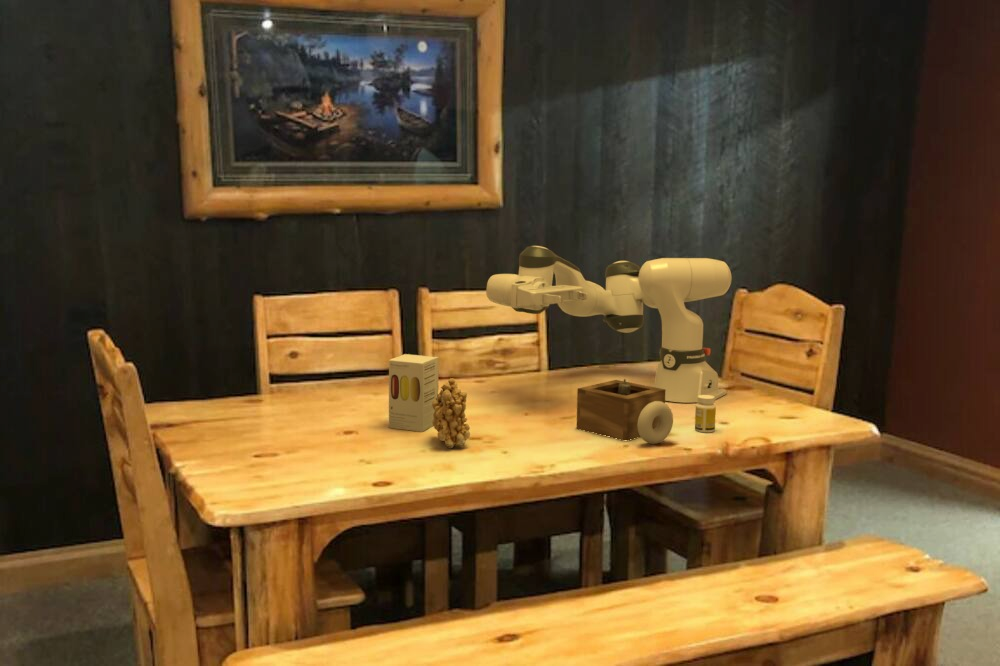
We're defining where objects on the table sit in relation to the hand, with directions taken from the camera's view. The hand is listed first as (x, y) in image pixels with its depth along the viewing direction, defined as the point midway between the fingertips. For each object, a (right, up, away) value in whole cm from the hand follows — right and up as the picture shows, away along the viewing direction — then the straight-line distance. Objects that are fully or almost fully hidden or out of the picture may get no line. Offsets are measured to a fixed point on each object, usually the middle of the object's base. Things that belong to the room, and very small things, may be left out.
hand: (573, 298), depth 233 cm
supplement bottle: (+31, -33, -10) cm, 46 cm away
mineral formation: (-31, -34, -24) cm, 52 cm away
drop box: (+10, -32, -11) cm, 35 cm away
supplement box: (-40, -32, -9) cm, 52 cm away
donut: (+17, -34, -22) cm, 44 cm away
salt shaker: (+11, -32, -11) cm, 35 cm away
